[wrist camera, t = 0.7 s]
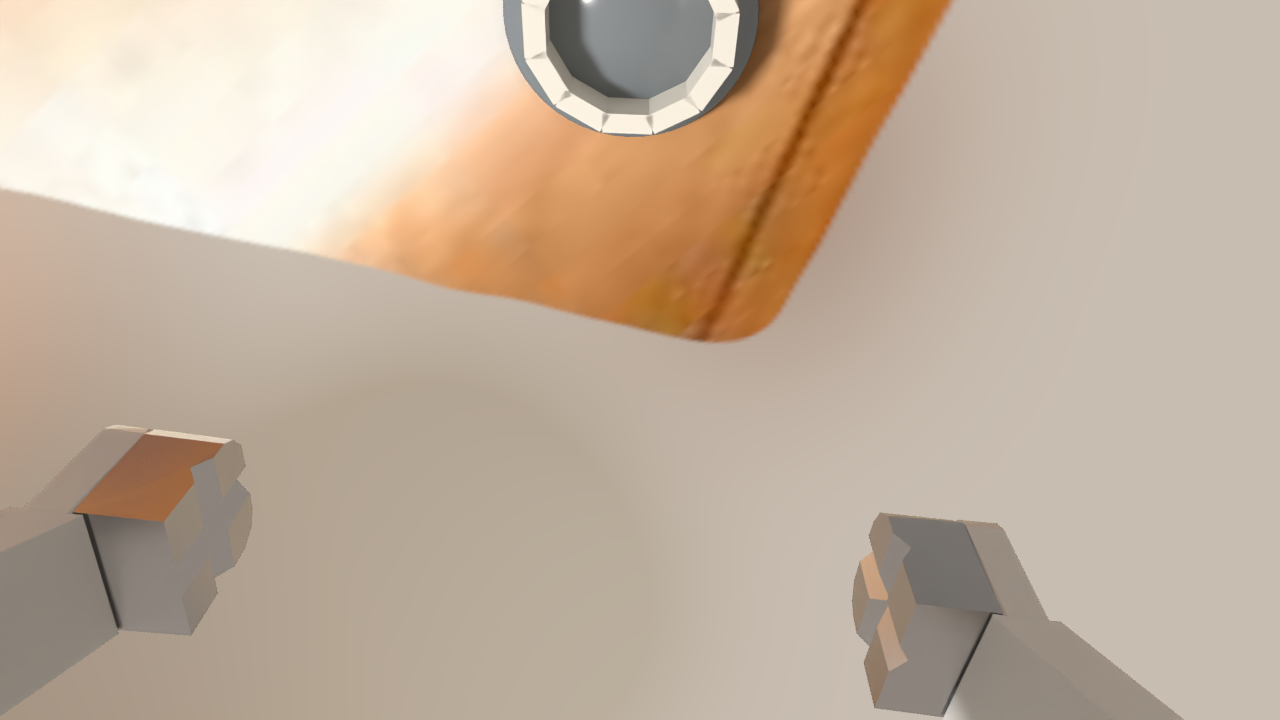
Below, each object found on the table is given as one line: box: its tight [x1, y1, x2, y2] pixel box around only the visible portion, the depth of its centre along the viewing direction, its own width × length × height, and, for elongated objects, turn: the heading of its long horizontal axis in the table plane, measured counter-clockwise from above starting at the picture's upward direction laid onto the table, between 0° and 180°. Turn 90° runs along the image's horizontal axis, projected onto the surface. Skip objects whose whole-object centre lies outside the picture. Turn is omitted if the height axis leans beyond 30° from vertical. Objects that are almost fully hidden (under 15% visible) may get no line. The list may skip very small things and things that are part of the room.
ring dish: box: [503, 0, 759, 137], centre depth 46 cm, size 14×14×3 cm
